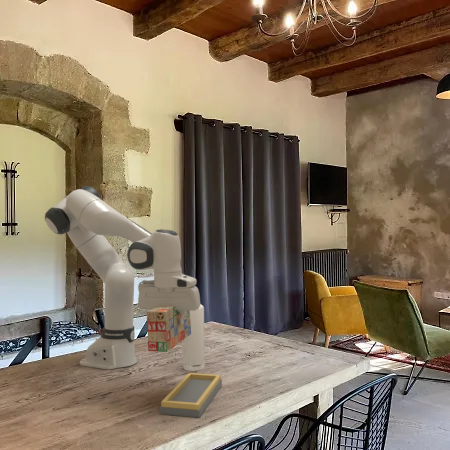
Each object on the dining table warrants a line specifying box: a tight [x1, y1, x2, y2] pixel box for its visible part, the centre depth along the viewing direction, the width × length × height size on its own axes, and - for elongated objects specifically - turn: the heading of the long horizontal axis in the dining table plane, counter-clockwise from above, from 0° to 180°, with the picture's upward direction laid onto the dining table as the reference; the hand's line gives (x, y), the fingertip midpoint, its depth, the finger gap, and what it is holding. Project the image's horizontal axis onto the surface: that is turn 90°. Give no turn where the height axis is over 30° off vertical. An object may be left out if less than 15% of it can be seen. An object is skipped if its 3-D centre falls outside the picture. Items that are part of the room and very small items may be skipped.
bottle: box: [182, 293, 205, 372], centre depth 179 cm, size 8×8×28 cm
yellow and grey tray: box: [159, 372, 223, 418], centre depth 148 cm, size 12×27×4 cm, turn 167°
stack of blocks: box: [146, 306, 191, 353], centre depth 150 cm, size 21×6×12 cm, turn 165°
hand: (169, 323), depth 149 cm, fingers closed on stack of blocks, 6 cm apart
